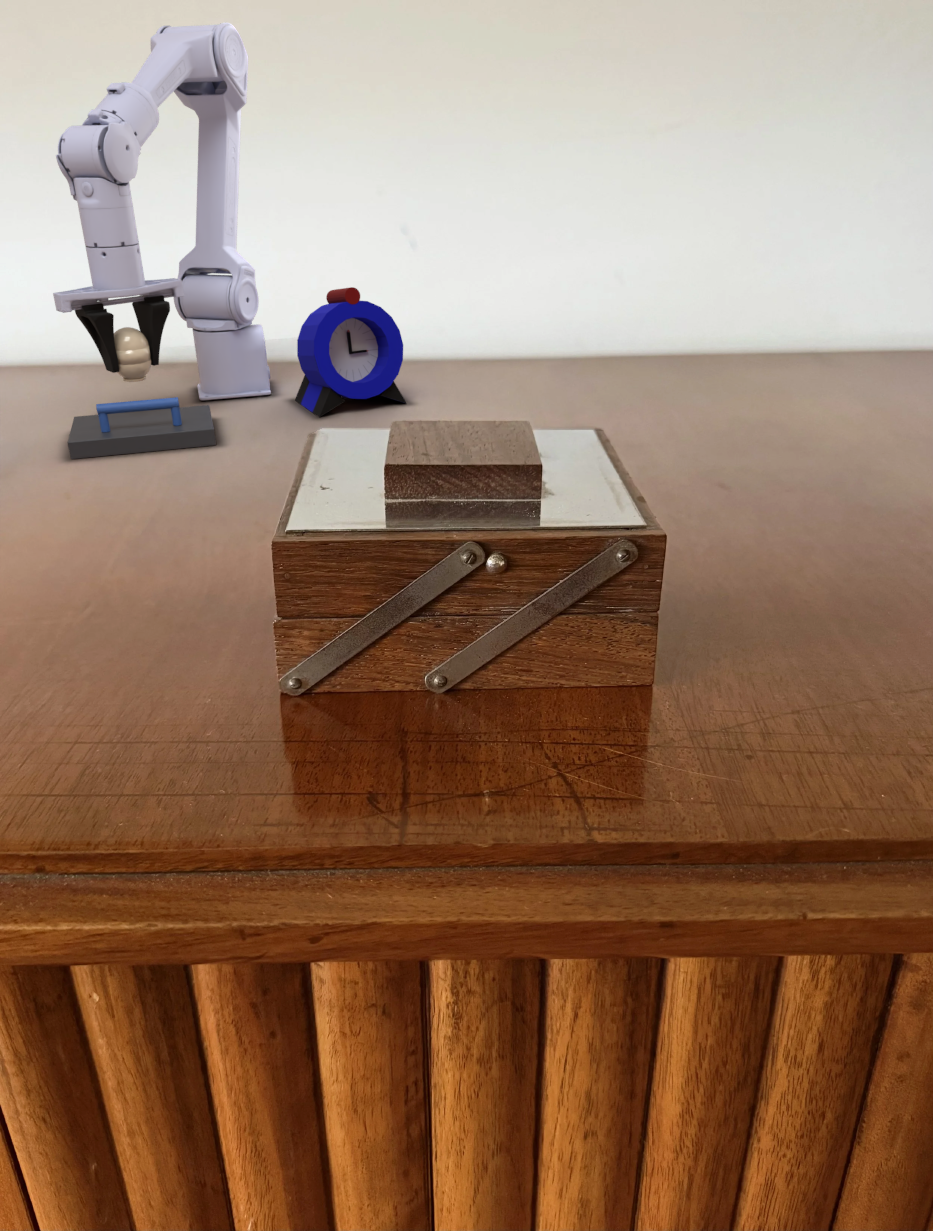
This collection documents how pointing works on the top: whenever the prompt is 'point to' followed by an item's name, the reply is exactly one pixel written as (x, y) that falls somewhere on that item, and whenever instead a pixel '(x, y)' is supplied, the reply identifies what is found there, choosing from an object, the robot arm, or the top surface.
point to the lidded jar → (132, 354)
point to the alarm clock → (348, 353)
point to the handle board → (140, 428)
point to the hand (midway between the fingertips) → (133, 367)
